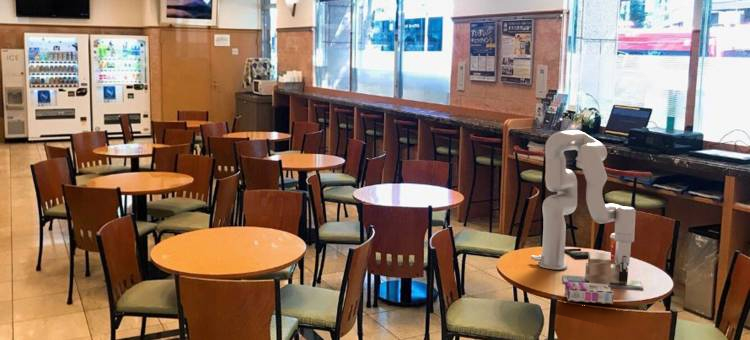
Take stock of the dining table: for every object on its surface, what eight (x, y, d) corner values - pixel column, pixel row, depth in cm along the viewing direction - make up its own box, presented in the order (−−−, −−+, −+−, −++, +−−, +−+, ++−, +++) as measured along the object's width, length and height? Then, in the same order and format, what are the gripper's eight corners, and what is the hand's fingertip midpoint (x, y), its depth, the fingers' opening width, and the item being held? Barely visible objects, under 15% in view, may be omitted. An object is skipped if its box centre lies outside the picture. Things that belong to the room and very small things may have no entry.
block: (586, 280, 291) (586, 266, 291) (585, 276, 297) (586, 262, 296) (627, 283, 288) (628, 269, 287) (625, 279, 294) (626, 265, 293)
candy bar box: (567, 302, 267) (613, 304, 265) (568, 289, 267) (613, 291, 264) (564, 293, 278) (608, 296, 276) (565, 281, 278) (609, 283, 275)
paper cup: (611, 261, 330) (613, 232, 328) (628, 264, 326) (630, 234, 324) (606, 264, 324) (607, 234, 322) (623, 267, 319) (625, 237, 318)
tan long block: (563, 284, 291) (564, 256, 289) (562, 276, 302) (563, 250, 301) (643, 290, 284) (645, 262, 282) (639, 282, 295) (641, 255, 294)
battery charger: (594, 263, 328) (594, 254, 327) (575, 264, 326) (575, 255, 325) (579, 256, 340) (580, 248, 340) (561, 257, 338) (562, 249, 338)
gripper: (612, 232, 298) (610, 272, 300) (616, 240, 281) (614, 283, 283) (631, 233, 296) (628, 273, 299) (636, 242, 280) (634, 284, 282)
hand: (621, 278), depth 291 cm, fingers open, 9 cm apart
